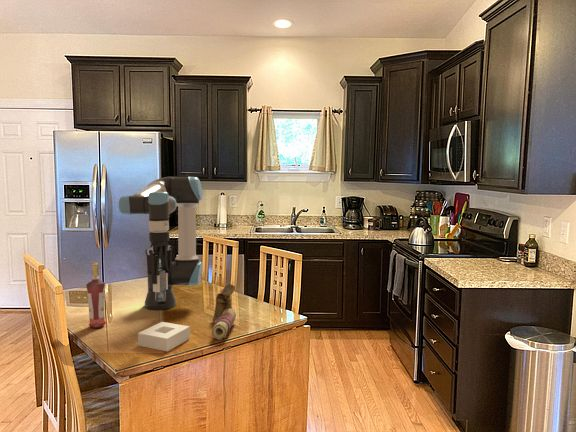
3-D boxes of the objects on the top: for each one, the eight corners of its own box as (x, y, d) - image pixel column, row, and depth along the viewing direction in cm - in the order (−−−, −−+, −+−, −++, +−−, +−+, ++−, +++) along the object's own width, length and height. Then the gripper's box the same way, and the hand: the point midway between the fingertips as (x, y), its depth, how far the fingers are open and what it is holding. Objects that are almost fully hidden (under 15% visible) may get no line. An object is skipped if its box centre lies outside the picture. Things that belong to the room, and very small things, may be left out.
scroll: (218, 319, 194) (204, 336, 174) (224, 305, 193) (212, 320, 173) (233, 327, 193) (221, 344, 174) (240, 312, 192) (229, 328, 172)
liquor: (105, 328, 186) (103, 264, 183) (87, 330, 184) (84, 265, 181) (107, 322, 193) (105, 260, 190) (89, 324, 191) (86, 261, 188)
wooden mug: (221, 326, 189) (220, 285, 188) (210, 317, 201) (210, 279, 199) (240, 322, 194) (239, 283, 192) (228, 314, 206) (228, 276, 204)
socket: (138, 345, 168) (137, 333, 167) (162, 333, 181) (162, 321, 180) (167, 351, 162) (167, 338, 162) (190, 338, 175) (189, 326, 175)
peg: (153, 300, 170) (152, 270, 169) (160, 298, 174) (159, 268, 173) (161, 302, 168) (160, 271, 167) (167, 299, 172) (167, 269, 171)
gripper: (151, 234, 160) (152, 296, 161) (181, 229, 175) (181, 286, 177) (135, 233, 163) (137, 294, 165) (166, 228, 178) (167, 284, 180)
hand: (160, 290), depth 171 cm, fingers closed on peg, 4 cm apart
